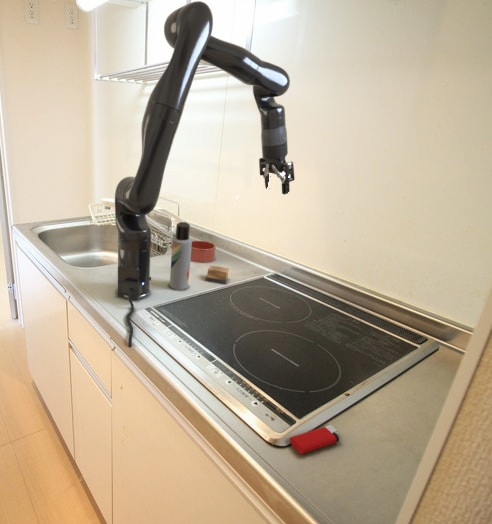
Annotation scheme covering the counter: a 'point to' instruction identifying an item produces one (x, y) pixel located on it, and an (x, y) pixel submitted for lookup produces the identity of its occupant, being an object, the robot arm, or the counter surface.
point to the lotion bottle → (180, 257)
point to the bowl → (202, 251)
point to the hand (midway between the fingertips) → (277, 190)
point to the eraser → (217, 274)
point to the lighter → (314, 439)
